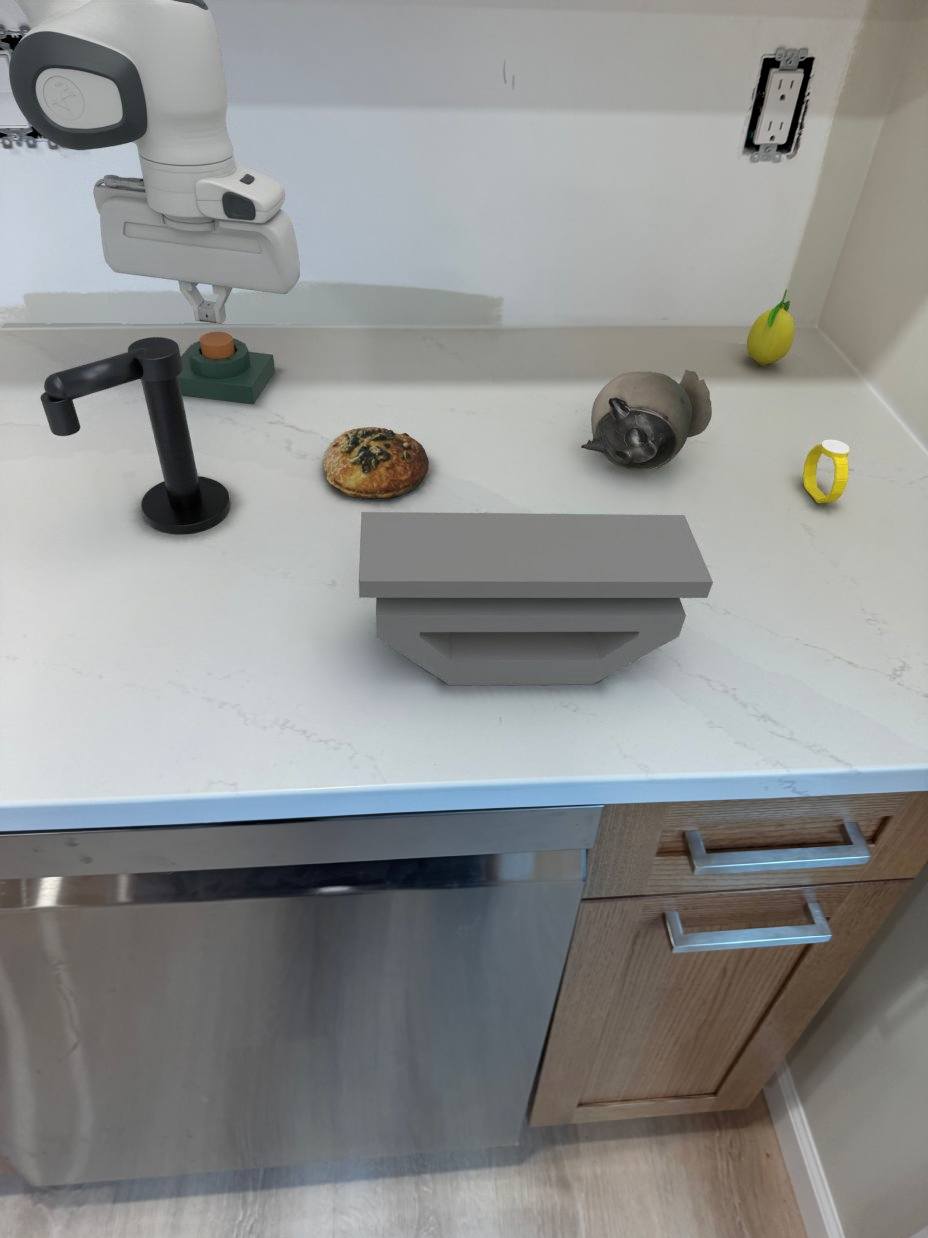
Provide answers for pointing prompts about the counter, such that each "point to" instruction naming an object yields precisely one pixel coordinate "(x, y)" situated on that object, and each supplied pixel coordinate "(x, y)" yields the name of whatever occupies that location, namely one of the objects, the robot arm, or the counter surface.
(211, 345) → the tap button
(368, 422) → the counter surface
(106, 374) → the spout
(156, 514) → the faucet base
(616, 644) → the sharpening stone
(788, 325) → the lemon
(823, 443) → the watch
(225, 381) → the control block
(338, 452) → the bread roll
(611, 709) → the counter surface
